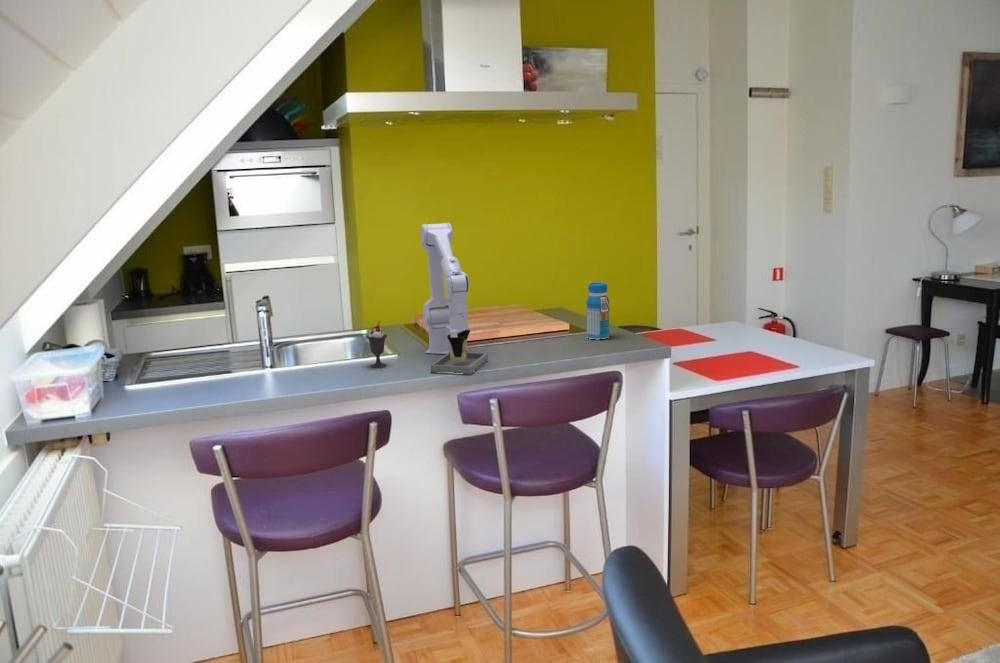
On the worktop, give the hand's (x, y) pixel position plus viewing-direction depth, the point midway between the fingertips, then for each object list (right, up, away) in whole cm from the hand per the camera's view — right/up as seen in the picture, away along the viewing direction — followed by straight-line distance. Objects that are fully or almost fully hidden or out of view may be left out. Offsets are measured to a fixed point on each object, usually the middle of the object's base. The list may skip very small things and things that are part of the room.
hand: (459, 354), depth 249 cm
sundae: (-26, -4, +4) cm, 27 cm away
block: (0, -1, 0) cm, 2 cm away
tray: (0, -4, +1) cm, 4 cm away
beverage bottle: (+48, +5, +35) cm, 60 cm away
